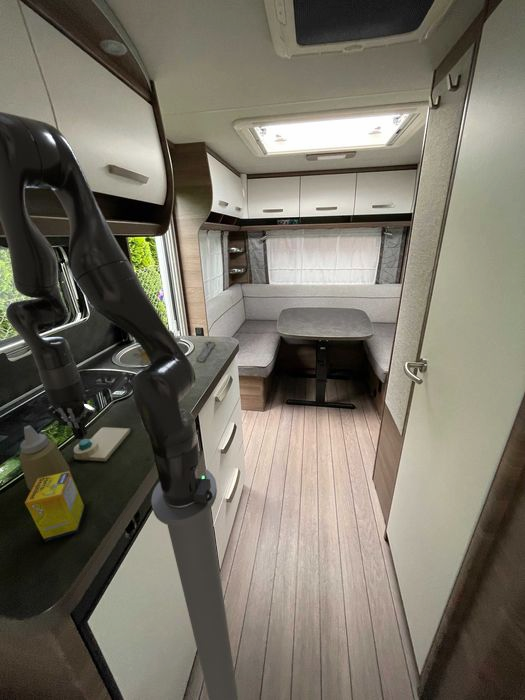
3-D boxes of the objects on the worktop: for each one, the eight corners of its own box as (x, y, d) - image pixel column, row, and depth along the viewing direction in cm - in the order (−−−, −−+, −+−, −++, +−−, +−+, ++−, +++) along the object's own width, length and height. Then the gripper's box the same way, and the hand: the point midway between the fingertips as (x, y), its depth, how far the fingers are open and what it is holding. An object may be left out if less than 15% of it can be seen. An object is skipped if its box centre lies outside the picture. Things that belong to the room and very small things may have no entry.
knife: (192, 361, 130) (203, 361, 129) (192, 361, 130) (203, 361, 129) (207, 342, 153) (216, 342, 152) (207, 341, 153) (216, 341, 152)
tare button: (84, 443, 77) (83, 438, 76) (93, 443, 76) (91, 438, 76) (78, 450, 74) (76, 444, 74) (86, 450, 74) (85, 445, 73)
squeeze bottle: (78, 487, 66) (54, 426, 59) (36, 510, 61) (4, 446, 54) (69, 469, 71) (46, 411, 64) (30, 488, 66) (0, 427, 59)
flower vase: (140, 410, 95) (124, 342, 85) (160, 383, 112) (148, 324, 102) (178, 410, 94) (166, 342, 84) (192, 383, 111) (183, 323, 101)
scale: (102, 430, 86) (100, 422, 85) (130, 431, 85) (128, 423, 84) (71, 461, 74) (68, 452, 73) (104, 463, 73) (101, 454, 72)
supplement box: (54, 515, 60) (36, 477, 55) (85, 507, 61) (70, 470, 57) (43, 542, 54) (23, 503, 50) (78, 532, 56) (61, 493, 52)
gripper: (23, 387, 64) (47, 445, 71) (75, 389, 63) (95, 448, 70) (49, 372, 71) (69, 426, 78) (97, 373, 70) (113, 429, 77)
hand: (81, 437), depth 74 cm, fingers closed
